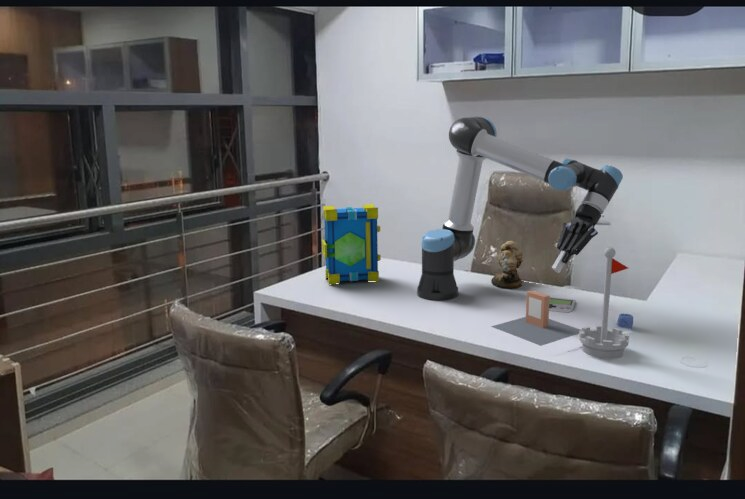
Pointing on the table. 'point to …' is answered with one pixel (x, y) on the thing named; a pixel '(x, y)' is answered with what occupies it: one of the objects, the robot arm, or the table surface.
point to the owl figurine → (508, 266)
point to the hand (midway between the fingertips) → (555, 270)
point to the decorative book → (351, 243)
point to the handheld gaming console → (561, 305)
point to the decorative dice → (625, 321)
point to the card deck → (537, 309)
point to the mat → (537, 331)
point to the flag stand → (605, 321)
